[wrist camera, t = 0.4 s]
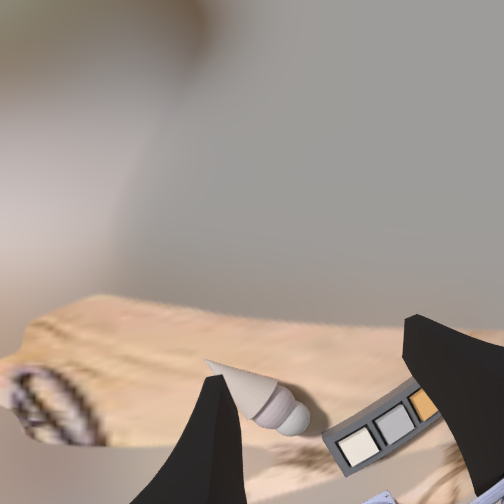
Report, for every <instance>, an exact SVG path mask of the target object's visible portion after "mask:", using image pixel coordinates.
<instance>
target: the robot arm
mask: <svg viewBox="0 0 504 504" xmlns="http://www.w3.org/2000/svg"><path fill="white" fill-rule="evenodd" d="M402 358H403V360H404V361H405V363H406V365H407V367H408V369H409V370H410V372H411V374H412V376H413V377H414V379H415V380H416V381H417V383H418V384H419V385H420V387H421V388H422V389H423V391H424V392H425V393H426V395H427V396H428V397H429V398H430V400H431V401H432V402H433V404H434V405H435V406H436V408H437V409H438V410H439V412H440V413H441V415H442V416H443V418H444V419H445V421H446V423H447V425H448V427H449V429H450V430H451V432H452V434H453V436H454V438H455V440H456V442H457V445H458V447H459V449H460V451H461V453H462V456H463V458H464V461H465V463H466V466H467V468H468V471H469V474H470V477H471V481H472V484H473V487H474V491H475V494H476V496H477V497H478V498H476V499H475V500H473V501H472V502H470V503H469V504H495V503H496V502H498V501H499V500H500V499H502V501H501V504H504V347H502V346H499V345H495V344H491V343H488V342H485V341H482V340H479V339H476V338H473V337H471V336H468V335H465V334H463V333H460V332H458V331H456V330H453V329H451V328H449V327H446V326H444V325H442V324H440V323H437V322H435V321H433V320H431V319H428V318H426V317H424V316H421V315H418V314H416V315H414V316H411V317H409V318H406V319H405V324H404V341H403V354H402ZM386 495H388V496H386ZM130 504H247V500H246V495H245V489H244V479H243V460H242V438H241V428H240V421H239V416H238V410H237V407H236V404H235V402H234V400H233V398H232V395H231V393H230V390H229V388H228V386H227V383H226V381H225V379H224V376H223V374H220V375H215V376H210V377H207V378H206V379H205V381H204V384H203V387H202V389H201V392H200V395H199V398H198V400H197V403H196V405H195V408H194V410H193V412H192V414H191V417H190V419H189V421H188V423H187V425H186V427H185V429H184V431H183V433H182V435H181V437H180V439H179V441H178V443H177V444H176V446H175V448H174V449H173V451H172V453H171V454H170V456H169V457H168V459H167V461H166V462H165V463H164V465H163V466H162V467H161V469H160V470H159V471H158V473H157V474H156V475H155V477H154V478H153V479H152V481H151V482H150V483H149V484H148V485H147V486H146V487H145V488H144V489H143V490H142V491H141V492H140V493H139V495H138V496H137V497H136V498H135V499H134V500H133V501H132V502H131V503H130ZM361 504H396V503H395V501H394V500H393V498H392V497H391V494H390V493H389V491H388V490H385V491H383V492H381V493H379V494H378V495H376V496H374V497H372V498H370V499H369V500H367V501H365V502H363V503H361Z"/></svg>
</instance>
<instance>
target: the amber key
mask: <svg viewBox="0 0 504 504" xmlns="http://www.w3.org/2000/svg"><path fill="white" fill-rule="evenodd" d="M410 400H411V402H412V403H413V405H414V407H415V409H416V411H417V413H418V415H419V417H420V419H421V420H423V421H425V420H426V419H428V418H429V417H430V416H432V415H433V414H434V413H435V412H437V411H438V409H437V408H436V406H435V405H434V404H433V402H432V401H431V400H430V398H429V397H428V396H427V395H426V393H425V392H424V391H423V389H420V390H419V391H418V392H416V393H415V394H414V395H412V396H411V397H410Z"/></svg>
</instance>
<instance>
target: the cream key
mask: <svg viewBox="0 0 504 504" xmlns="http://www.w3.org/2000/svg"><path fill="white" fill-rule="evenodd" d="M338 443H339V445H340V447H341V449H342V450H343V452H344V454H345V455H346V457H347V459H348V460H349V462H350V464H351V465H352V467H353V466H355V465H357V464H358V463H360V462H362V461H364V460H365V459H367V458H369V457H371V456H372V455H374V454H376V453H377V452H379V450H378V448H377V446H376V445H375V443H374V441H373V439H372V438H371V436H370V434H369V432H368V430H367V429H366V428H365V427H364V428H362V429H361V430H359V431H357V432H356V433H354V434H352V435H350V436H349V437H347V438H345V439H343V440H342V441H340V442H338Z"/></svg>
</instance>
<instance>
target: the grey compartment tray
mask: <svg viewBox="0 0 504 504" xmlns="http://www.w3.org/2000/svg"><path fill="white" fill-rule="evenodd" d="M420 389H422V388H421V387H420V385H419V384H418V383H417V381H416V380H415V379H414V377H413V376H412V377H411V378H409V379H408V380H407V381H405V382H404V383H402V384H401V385H400V386H398V387H397V388H395V389H394V390H392V391H391V392H389V393H388V394H386V395H385V396H384V397H382V398H380V399H379V400H377V401H376V402H374V403H373V404H371V405H370V406H368V407H366V408H365V409H363V410H362V411H360V412H358V413H357V414H355V415H353V416H352V417H350V418H348V419H346V420H345V421H343V422H341V423H339V424H338V425H336V426H334V427H332V428H330V429H329V430H327V431H325V432H323V433H321V434H322V439H323V441H324V443H325V444H326V446H327V448H328V449H329V451H330V453H331V454H332V456H333V458H334V459H335V461H336V463H337V464H338V466H339V468H340V469H341V471H342V472H343V474H344V476H345V477H348V476H349V475H351V474H353V473H355V472H357V471H359V470H361V469H362V468H364V467H366V466H368V465H369V464H371V463H373V462H375V461H376V460H378V459H380V458H381V457H383V456H385V455H386V454H388V453H389V452H391V451H393V450H394V449H396V448H397V447H399V446H400V445H402V444H403V443H405V442H406V441H408V440H409V439H411V438H412V437H413V436H415V435H416V434H418V433H419V432H421V431H422V430H423V429H425V428H426V427H427V426H429V425H430V424H431V423H433V422H434V421H435V420H437V419H438V418H439V417H440V416H442V415H441V413H440V412H439V410H438V411H437V412H435V413H434V414H433V415H432V416H430V417H429V418H428V419H426V420H425V421H423V420H421V419H420V417H419V415H418V413H417V411H416V409H415V407H414V405H413V403H412V402H411V400H410V397H411V396H412V395H414V394H415V393H416V392H418V391H419V390H420ZM400 404H401V405H403V407H404V408H405V410H406V412H407V414H408V416H409V418H410V420H411V422H412V424H413V426H414V429H413V430H411V431H410V432H408V433H407V434H405V435H404V436H402V437H401V438H399V439H398V440H396V441H395V442H393V443H392V444H390V445H389V444H388V443H387V442H386V440H385V438H384V436H383V434H382V433H381V431H380V429H379V427H378V425H377V424H376V422H375V420H377V419H379V418H380V417H382V416H383V415H385V414H386V413H388V412H389V411H391V410H392V409H394V408H395V407H397V406H398V405H400ZM364 427H365V428H366V429H367V430H368V432H369V434H370V436H371V438H372V439H373V441H374V443H375V445H376V446H377V448H378V450H379V452H377V453H376V454H374V455H372V456H371V457H369V458H367V459H365V460H364V461H362V462H360V463H358V464H357V465H355V466H353V467H352V465H351V464H350V462H349V460H348V459H347V457H346V455H345V454H344V452H343V450H342V449H341V447H340V445H339V443H338V442H340V441H342V440H343V439H345V438H347V437H349V436H350V435H352V434H354V433H356V432H357V431H359V430H361V429H362V428H364Z"/></svg>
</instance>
